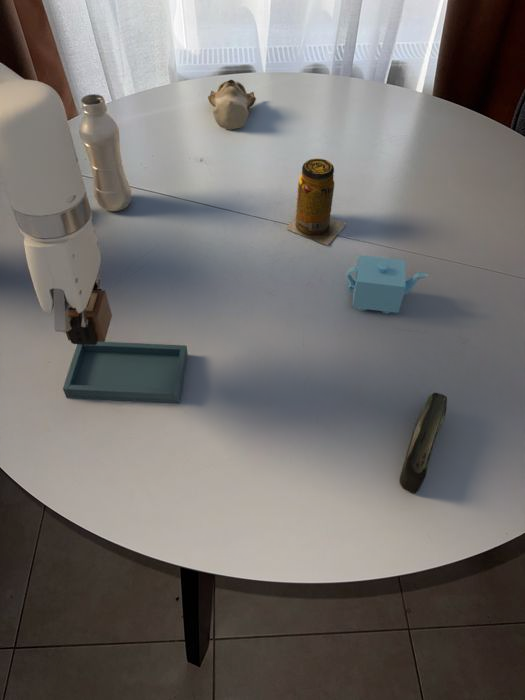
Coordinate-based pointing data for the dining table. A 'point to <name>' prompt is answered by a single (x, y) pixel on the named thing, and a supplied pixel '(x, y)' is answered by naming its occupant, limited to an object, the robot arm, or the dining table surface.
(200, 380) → the dining table surface
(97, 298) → the tile
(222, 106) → the ceramic sculpture
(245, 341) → the dining table surface
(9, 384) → the dining table surface
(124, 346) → the tray
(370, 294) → the teapot
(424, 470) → the dark grey rounded bar
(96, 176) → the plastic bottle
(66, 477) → the dining table surface
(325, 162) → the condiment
